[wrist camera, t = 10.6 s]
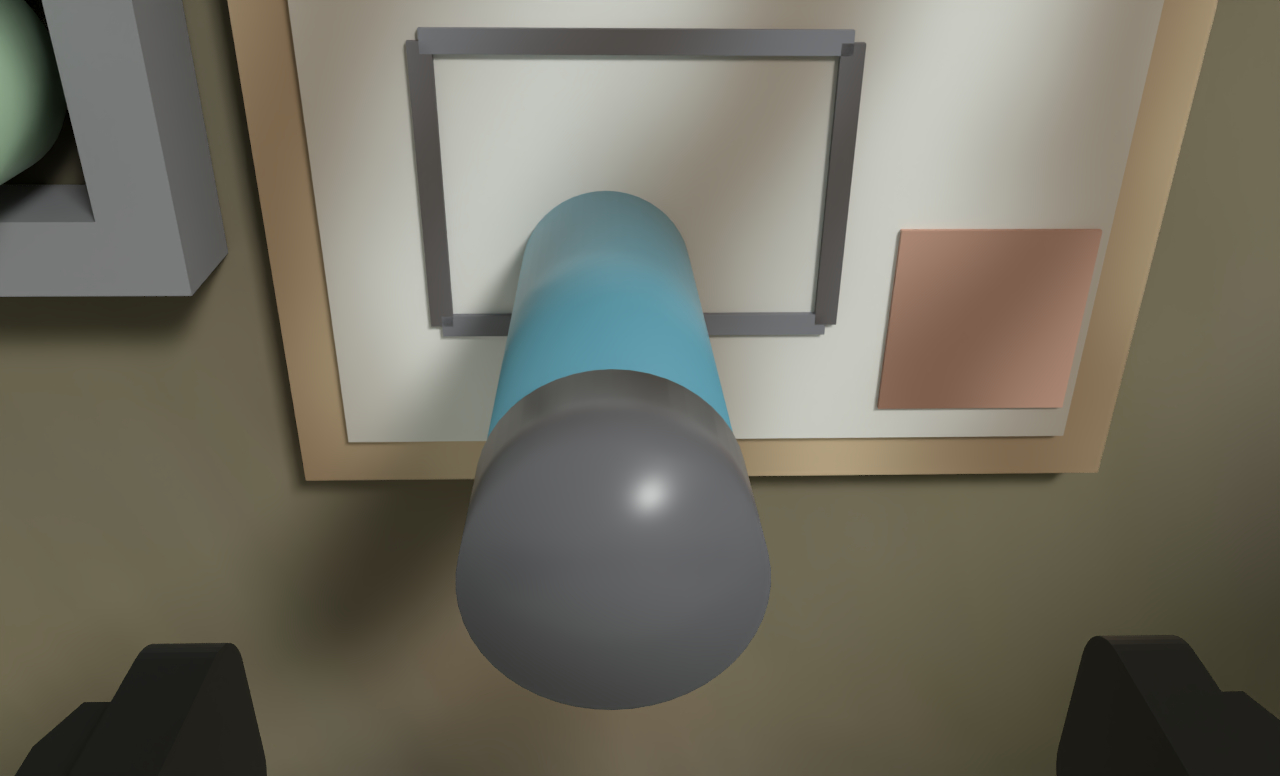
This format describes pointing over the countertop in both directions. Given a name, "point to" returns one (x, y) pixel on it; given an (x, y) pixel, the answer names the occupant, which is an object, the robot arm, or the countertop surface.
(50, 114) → the mint green capsule
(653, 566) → the marker
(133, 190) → the button housing
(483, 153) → the board
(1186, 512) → the countertop surface
